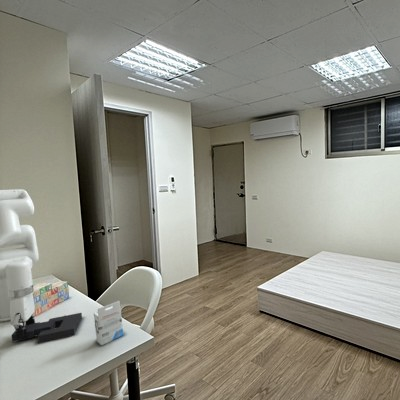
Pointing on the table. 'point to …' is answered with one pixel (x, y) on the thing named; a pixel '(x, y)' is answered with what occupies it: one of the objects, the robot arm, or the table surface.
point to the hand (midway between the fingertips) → (26, 333)
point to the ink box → (108, 323)
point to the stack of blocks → (49, 295)
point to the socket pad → (61, 327)
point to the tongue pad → (35, 329)
